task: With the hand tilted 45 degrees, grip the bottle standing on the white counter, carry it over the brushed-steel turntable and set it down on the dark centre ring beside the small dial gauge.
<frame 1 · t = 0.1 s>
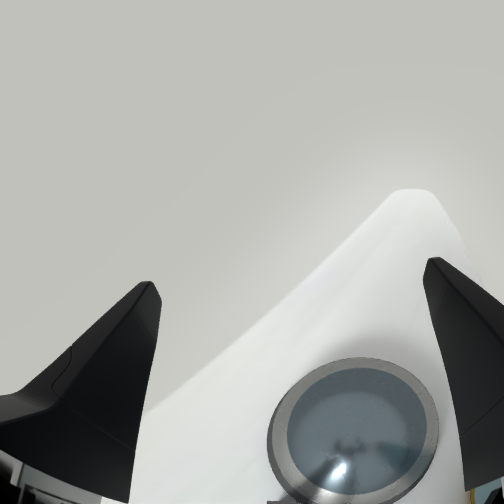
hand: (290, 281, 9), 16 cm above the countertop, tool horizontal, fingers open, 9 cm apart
platter: (358, 430, 17), point 2 cm above the countertop, hinge at 0.0°
turntable base: (354, 437, 18), on the countertop
bottle: (500, 486, 10), on the countertop
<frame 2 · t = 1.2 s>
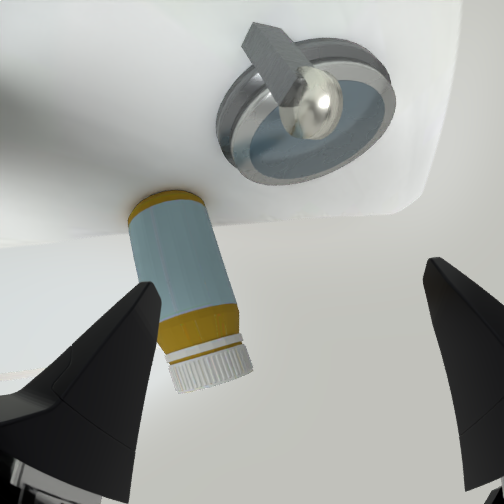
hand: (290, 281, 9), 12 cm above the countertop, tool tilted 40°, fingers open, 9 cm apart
platter: (318, 130, 19), point 2 cm above the countertop, hinge at 0.0°
turntable base: (306, 112, 19), on the countertop
bottle: (164, 208, 26), on the countertop
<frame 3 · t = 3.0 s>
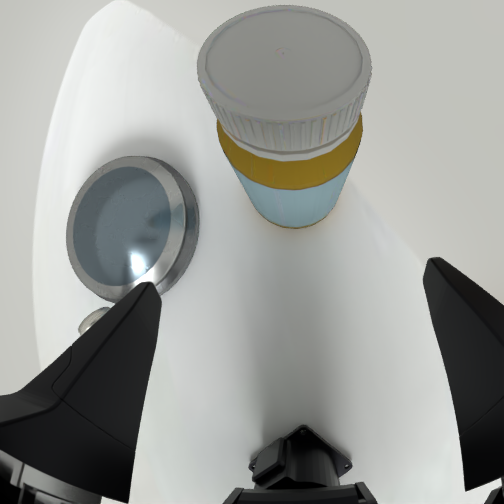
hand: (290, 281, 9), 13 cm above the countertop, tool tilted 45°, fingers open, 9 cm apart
platter: (119, 225, 23), point 2 cm above the countertop, hinge at 0.0°
turntable base: (130, 229, 25), on the countertop
bottle: (294, 187, 23), on the countertop
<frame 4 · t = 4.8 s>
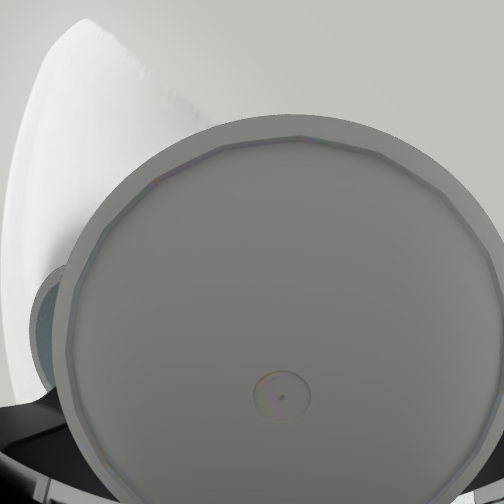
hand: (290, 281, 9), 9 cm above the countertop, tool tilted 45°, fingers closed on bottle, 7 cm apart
platter: (83, 349, 17), point 2 cm above the countertop, hinge at 0.0°
bottle: (297, 309, 18), on the countertop, touching gripper
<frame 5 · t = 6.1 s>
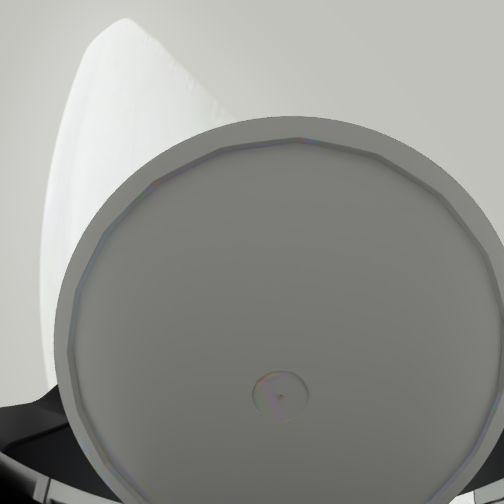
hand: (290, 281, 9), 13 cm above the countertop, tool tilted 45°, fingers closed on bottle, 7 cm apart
bottle: (299, 308, 18), point 4 cm above the countertop, touching gripper
when the fingers open (12 cm above the countertop, at t = 7.8 s): bottle drops 1 cm, resting on platter.
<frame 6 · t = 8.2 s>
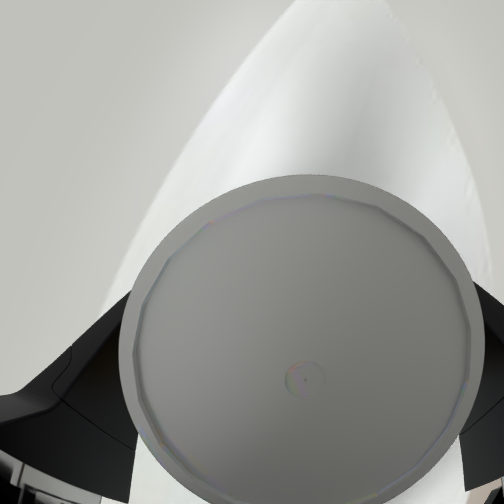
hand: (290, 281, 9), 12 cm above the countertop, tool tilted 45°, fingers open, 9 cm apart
bottle: (301, 310, 19), point 2 cm above the countertop, touching platter
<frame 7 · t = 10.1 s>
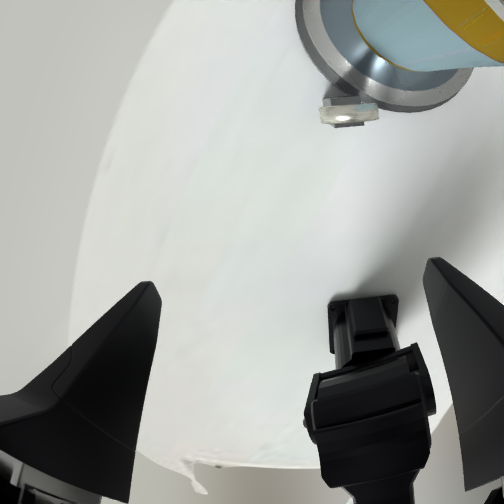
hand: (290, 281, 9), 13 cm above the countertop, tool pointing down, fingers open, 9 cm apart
platter: (396, 20, 13), point 2 cm above the countertop, hinge at 0.0°, touching bottle
turntable base: (389, 25, 14), on the countertop
bottle: (402, 22, 12), point 2 cm above the countertop, touching platter
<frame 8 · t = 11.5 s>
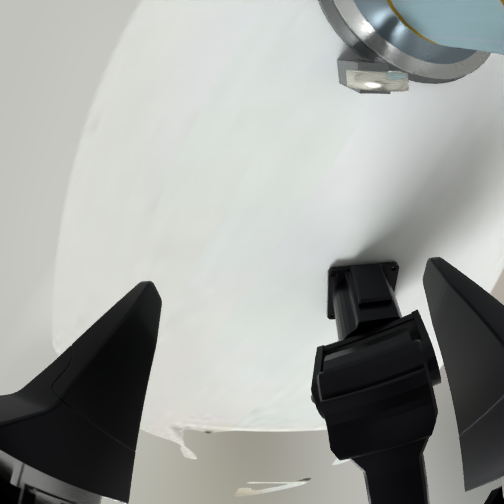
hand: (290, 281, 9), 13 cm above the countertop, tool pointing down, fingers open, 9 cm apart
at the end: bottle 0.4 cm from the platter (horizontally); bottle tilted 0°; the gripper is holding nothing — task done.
